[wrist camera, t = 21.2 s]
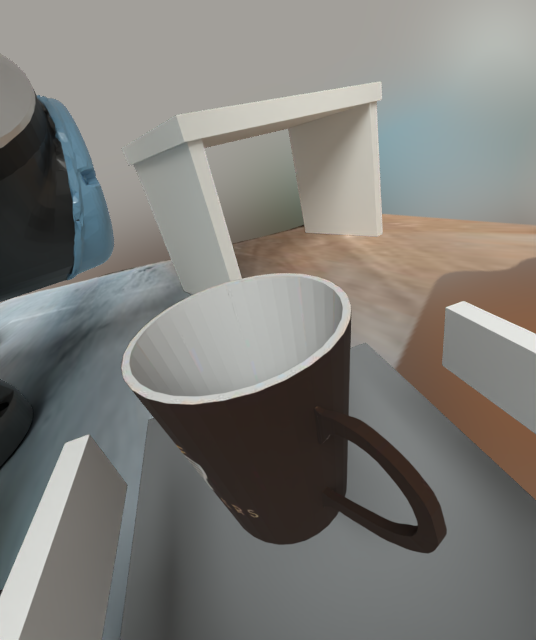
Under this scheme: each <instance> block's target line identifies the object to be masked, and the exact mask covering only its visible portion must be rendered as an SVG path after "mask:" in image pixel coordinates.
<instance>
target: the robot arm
mask: <svg viewBox="0 0 536 640" xmlns="http://www.w3.org/2000/svg"><path fill="white" fill-rule="evenodd" d="M95 176H96V174H95V171H94V168H93V164H92V160H91V157H90V155H89V152H88V150H87V147H86V145H85V142H84V140H83V138H82V136H81V133H80V131H79V129H78V127H77V125H76V123H75V121H74V120H73V118H72V116H71V115H70V113H69V111H68V110H67V108H66V107H65V106H64V105H63V104H62V103H61V102H59V101H58V100H56V99H52V98H46V97H44V96H42V97H40V95H38V96H36V94H35V91H34V89H33V87H32V85H31V83H30V81H29V79H28V78H27V76H26V74H25V73H24V72H23V71H22V70H21V69H20V68H19V67H18V66H17V65H16V64H15V63H14V62H12V61H11V60H10V59H8V58H6V57H5V56H3V55H1V54H0V302H1V301H5V300H8V299H11V298H14V297H17V296H20V295H22V294H26V293H29V292H32V291H35V290H37V289H41V288H43V287H46V286H49V285H52V284H56V283H58V282H61V281H64V280H70V279H72V278H74V277H75V276H76V275H77V274H79V273H82V272H84V271H86V270H89V269H91V268H94V267H96V266H98V265H101V264H103V263H104V262H105V261H107V260H108V259H109V257H110V256H111V254H112V251H113V247H114V237H113V230H112V224H111V219H110V216H109V212H108V208H107V204H106V201H105V198H104V195H103V192H102V189H101V186H100V184H99V182H98V180H97V179H96V177H95ZM442 365H443V366H444V367H446V368H447V369H448V370H450V371H451V372H452V373H454V374H455V375H456V376H458V377H459V378H460V379H462V380H463V381H465V382H466V383H467V384H469V385H470V386H471V387H473V388H474V389H476V390H477V391H478V392H479V393H481V394H482V395H484V396H485V397H486V398H488V399H489V400H490V401H492V402H493V403H494V404H496V405H497V406H498V407H500V408H501V409H502V410H504V411H505V412H507V413H508V414H509V415H511V416H512V417H513V418H515V419H516V420H517V421H519V422H520V423H521V424H523V425H525V426H526V427H527V428H528V429H530V430H531V431H532V432H534V433H535V434H536V334H535V333H532V332H530V331H528V330H526V329H524V328H522V327H519V326H517V325H515V324H513V323H510V322H508V321H506V320H504V319H502V318H499V317H497V316H495V315H493V314H491V313H489V312H486V311H484V310H482V309H480V308H478V307H475V306H473V305H471V304H469V303H466V302H464V301H463V302H460V303H457V304H454V305H451V306H448V307H446V313H445V329H444V345H443V361H442ZM32 418H33V409H32V406H31V405H30V404H29V402H28V401H27V400H26V399H25V398H24V397H23V395H22V394H21V393H20V392H19V391H18V390H17V389H16V388H15V387H14V386H12V385H10V384H9V383H7V382H5V381H3V380H1V379H0V466H1V465H2V464H3V463H4V462H5V461H6V460H7V459H8V457H9V456H10V455H11V454H12V453H13V452H14V450H15V449H16V448H17V446H18V445H19V444H20V442H21V441H22V439H23V438H24V436H25V435H26V433H27V431H28V429H29V427H30V425H31V422H32ZM127 486H128V485H127V484H126V482H125V481H124V480H123V478H122V477H121V476H120V474H119V473H118V472H117V470H116V469H115V468H114V466H113V465H112V464H111V462H110V461H109V460H108V458H107V457H106V456H105V454H104V453H103V452H102V450H101V449H100V448H99V446H98V445H97V444H96V442H95V441H94V440H93V438H92V437H91V436H90V434H89V435H86V436H83V437H80V438H78V439H75V440H72V441H69V442H66V443H65V445H64V447H63V449H62V452H61V454H60V456H59V459H58V461H57V464H56V466H55V468H54V471H53V473H52V475H51V478H50V480H49V482H48V485H47V487H46V489H45V492H44V494H43V497H42V499H41V501H40V504H39V506H38V508H37V511H36V513H35V515H34V518H33V520H32V523H31V525H30V527H29V530H28V532H27V534H26V537H25V539H24V541H23V544H22V546H21V549H20V551H19V553H18V556H17V558H16V560H15V563H14V565H13V567H12V570H11V572H10V575H9V577H8V579H7V582H6V584H5V586H4V589H3V590H0V640H102V635H103V629H104V623H105V617H106V611H107V605H108V599H109V593H110V587H111V581H112V575H113V569H114V563H115V557H116V551H117V545H118V539H119V533H120V527H121V521H122V515H123V509H124V503H125V497H126V492H127Z"/></svg>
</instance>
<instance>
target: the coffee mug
mask: <svg viewBox="0 0 536 640" xmlns="http://www.w3.org/2000/svg"><path fill="white" fill-rule="evenodd" d="M350 343H351V304H350V301H349V298H348V295H347V294H346V293H345V292H344V291H343V290H342V289H341V288H340V287H339V286H337V285H336V284H334V283H332V282H331V281H328V280H326V279H323V278H320V277H317V276H311V275H306V274H294V273H279V274H266V275H257V276H252V277H247V278H242V279H238V280H234V281H230V282H226V283H223V284H220V285H217V286H214V287H211V288H208V289H206V290H203V291H201V292H199V293H196V294H194V295H192V296H190V297H188V298H186V299H184V300H182V301H180V302H178V303H176V304H174V305H173V306H171V307H169V308H168V309H166V310H164V311H163V312H162V313H160V314H159V315H158V316H156V317H155V318H153V319H152V320H151V321H150V322H148V323H147V324H146V325H145V326H144V327H143V328H142V329H141V330H140V331H139V332H138V333H137V334H136V336H135V337H134V338H133V339H132V340H131V342H130V343H129V345H128V347H127V349H126V351H125V353H124V355H123V359H122V364H121V370H122V375H123V379H124V381H125V382H126V383H127V385H128V386H129V387H130V388H131V390H132V391H133V392H134V393H135V395H136V396H137V397H138V398H139V400H140V401H141V402H142V403H143V405H144V406H145V407H146V408H147V410H148V411H149V412H150V413H151V415H152V416H153V417H154V418H155V419H156V421H157V422H158V423H159V424H160V426H161V427H162V428H163V429H164V431H165V432H166V433H167V434H168V436H169V437H170V438H171V439H172V441H173V442H174V443H175V444H176V445H177V447H178V448H179V449H180V450H181V452H182V453H183V454H184V455H185V457H186V458H187V459H188V460H189V462H190V463H191V464H192V465H193V467H194V468H195V469H196V470H197V471H198V473H199V474H200V475H201V476H202V478H203V479H204V480H205V481H206V483H207V484H208V485H209V486H210V488H211V489H212V490H213V491H214V493H215V494H216V495H217V496H218V498H219V499H220V500H221V501H222V502H223V504H224V505H225V506H226V507H227V509H228V510H229V511H230V512H231V514H232V515H233V516H234V517H235V519H236V520H237V521H238V522H239V524H240V525H241V526H242V527H243V528H244V530H246V531H247V532H248V533H249V534H251V535H252V536H253V537H255V538H257V539H259V540H262V541H264V542H267V543H272V544H277V545H286V544H295V543H299V542H302V541H306V540H308V539H310V538H312V537H314V536H316V535H318V534H319V533H320V532H321V531H323V530H324V529H325V528H326V527H327V526H329V525H330V523H331V522H332V521H333V520H334V518H335V517H336V516H337V514H338V512H341V513H342V514H344V515H345V516H347V517H348V518H350V519H351V520H353V521H355V522H356V523H358V524H359V525H361V526H363V527H364V528H366V529H368V530H369V531H371V532H373V533H374V534H376V535H378V536H379V537H381V538H383V539H385V540H387V541H389V542H391V543H393V544H396V545H398V546H401V547H403V548H405V549H408V550H411V551H415V552H420V553H427V554H429V553H431V552H433V551H435V550H436V548H437V547H438V546H439V544H440V543H441V542H442V540H443V539H444V538H445V536H446V534H447V528H446V524H445V520H444V517H443V513H442V509H441V505H440V503H439V501H438V499H437V497H436V495H435V493H434V492H433V491H432V489H431V488H430V486H429V485H428V484H427V482H426V481H425V480H424V479H423V477H422V476H421V475H420V474H419V472H418V471H417V470H416V469H415V468H414V467H413V465H412V464H411V463H410V462H409V461H408V460H407V459H406V458H405V457H404V456H403V455H402V454H401V453H400V452H399V451H398V450H397V449H396V448H395V447H394V446H393V445H392V444H391V443H389V442H388V441H387V440H386V439H385V438H384V437H382V436H381V435H380V434H379V433H378V432H377V431H375V430H374V429H373V428H372V427H370V426H369V425H367V424H366V423H365V422H363V421H361V420H359V419H357V418H355V417H351V416H349V382H350ZM348 440H349V441H351V442H352V443H354V444H356V445H357V446H358V447H360V448H361V449H363V450H364V451H365V452H367V453H368V454H369V455H370V456H371V457H372V458H373V459H374V460H376V461H377V462H378V463H379V465H380V466H381V467H382V468H383V469H384V470H385V471H386V473H387V474H388V475H389V476H390V477H391V478H392V480H393V481H394V482H395V483H396V485H397V486H398V487H399V488H400V490H401V491H402V493H403V494H404V496H405V497H406V499H407V500H408V502H409V504H410V506H411V508H412V510H413V512H414V514H415V517H416V519H417V524H418V525H417V526H413V525H409V524H400V523H396V522H392V521H390V520H388V519H385V518H383V517H381V516H380V515H378V514H376V513H374V512H372V511H370V510H368V509H366V508H364V507H362V506H360V505H358V504H357V503H355V502H353V501H351V500H349V499H348V498H346V497H345V494H346V490H347V461H348Z"/></svg>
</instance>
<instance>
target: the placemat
mask: <svg viewBox="0 0 536 640" xmlns="http://www.w3.org/2000/svg"><path fill="white" fill-rule="evenodd" d="M349 416H351V417H355V418H357V419H359V420H361V421H363V422H365V423H366V424H367V425H369V426H370V427H372V428H373V429H374V430H375V431H377V432H378V433H379V434H380V435H381V436H382V437H384V438H385V439H386V440H387V441H388V442H389V443H391V444H392V445H393V446H394V447H395V448H396V449H397V450H398V451H399V452H400V453H401V454H402V455H403V456H404V457H405V458H406V459H407V460H408V461H409V462H410V463H411V464H412V465H413V467H414V468H415V469H416V470H417V471H418V472H419V474H420V475H421V476H422V477H423V479H424V480H425V481H426V482H427V484H428V485H429V486H430V488H431V489H432V491H433V492H434V493H435V495H436V497H437V499H438V501H439V503H440V505H441V509H442V513H443V517H444V520H445V524H446V528H447V534H446V536H445V538H444V539H443V540H442V542H441V543H440V544H439V546H438V547H437V548H436V550H435V551H433V552H431V553H429V554H427V553H420V552H415V551H411V550H408V549H405V548H403V547H401V546H398V545H396V544H393V543H391V542H389V541H387V540H385V539H383V538H381V537H379V536H378V535H376V534H374V533H373V532H371V531H369V530H368V529H366V528H364V527H363V526H361V525H359V524H358V523H356V522H355V521H353V520H351V519H350V518H348V517H347V516H345V515H344V514H342V513H341V512H338V514H337V516H336V517H335V518H334V520H333V521H332V522H331V523H330V525H329V526H327V527H326V528H325V529H324V530H323V531H321V532H320V533H319V534H318V535H316V536H314V537H312V538H310V539H308V540H306V541H302V542H299V543H295V544H286V545H277V544H272V543H267V542H264V541H262V540H259V539H257V538H255V537H253V536H252V535H251V534H249V533H248V532H247V531H246V530H244V528H243V527H242V526H241V525H240V524H239V522H238V521H237V520H236V519H235V517H234V516H233V515H232V514H231V512H230V511H229V510H228V509H227V507H226V506H225V505H224V504H223V502H222V501H221V500H220V499H219V498H218V496H217V495H216V494H215V493H214V491H213V490H212V489H211V488H210V486H209V485H208V484H207V483H206V481H205V480H204V479H203V478H202V476H201V475H200V474H199V473H198V471H197V470H196V469H195V468H194V467H193V465H192V464H191V463H190V462H189V460H188V459H187V458H186V457H185V455H184V454H183V453H182V452H181V450H180V449H179V448H178V447H177V445H176V444H175V443H174V442H173V441H172V439H171V438H170V437H169V436H168V434H167V433H166V432H165V431H164V429H163V428H162V427H161V426H160V424H159V423H158V422H157V421H156V419H155V418H153V419H150V420H148V427H147V435H146V442H145V450H144V458H143V465H142V473H141V481H140V488H139V496H138V504H137V512H136V519H135V527H134V535H133V542H132V550H131V558H130V565H129V573H128V581H127V588H126V596H125V604H124V611H123V619H122V627H121V634H120V640H536V500H535V499H534V498H533V497H532V496H531V495H530V494H528V493H527V492H526V491H525V490H524V489H523V488H522V487H521V486H520V485H519V484H518V483H517V482H516V481H514V480H513V479H512V478H511V477H510V476H509V475H508V474H507V473H506V472H505V471H504V470H503V469H501V468H500V467H499V466H498V465H497V464H496V463H495V462H494V461H493V460H492V459H491V458H490V457H489V456H488V455H486V454H485V453H484V452H483V451H482V450H481V449H480V448H479V447H478V446H477V445H476V444H475V443H473V442H472V441H471V440H470V439H469V438H468V437H467V436H466V435H465V434H464V433H463V432H462V431H461V430H459V429H458V428H457V427H456V426H455V425H454V424H453V423H452V422H451V421H450V420H449V419H447V417H445V416H444V415H443V414H442V413H441V412H440V411H439V410H438V409H437V408H436V407H435V406H434V405H432V404H431V403H430V402H429V401H428V400H427V399H426V398H425V397H424V396H423V395H422V394H421V393H420V392H418V391H417V390H416V389H415V388H414V387H413V386H412V385H411V384H410V383H409V382H408V381H407V380H405V379H404V378H403V377H402V376H401V375H400V374H399V373H398V372H397V371H396V370H395V369H394V368H393V367H391V366H390V365H389V364H388V363H387V362H386V361H385V360H384V359H383V358H382V357H381V356H380V355H379V354H377V353H376V352H375V351H374V350H373V349H372V348H371V347H370V346H369V345H368V344H367V343H363V344H360V345H358V346H355V347H352V348H350V382H349ZM345 497H346V498H348V499H349V500H351V501H353V502H355V503H357V504H358V505H360V506H362V507H364V508H366V509H368V510H370V511H372V512H374V513H376V514H378V515H380V516H381V517H383V518H385V519H388V520H390V521H392V522H396V523H400V524H409V525H413V526H417V525H418V524H417V519H416V517H415V514H414V512H413V510H412V508H411V506H410V504H409V502H408V500H407V499H406V497H405V496H404V494H403V493H402V491H401V490H400V488H399V487H398V486H397V485H396V483H395V482H394V481H393V480H392V478H391V477H390V476H389V475H388V474H387V473H386V471H385V470H384V469H383V468H382V467H381V466H380V465H379V463H378V462H377V461H376V460H374V459H373V458H372V457H371V456H370V455H369V454H368V453H367V452H365V451H364V450H363V449H361V448H360V447H358V446H357V445H356V444H354V443H352V442H351V441H349V440H348V461H347V490H346V494H345Z"/></svg>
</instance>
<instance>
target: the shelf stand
mask: <svg viewBox="0 0 536 640" xmlns="http://www.w3.org/2000/svg"><path fill="white" fill-rule="evenodd" d="M379 100H382V87H381V81H380V82H374V83H368V84H362V85H356V86H350V87H344V88H337V89H331V90H325V91H319V92H313V93H307V94H301V95H295V96H289V97H283V98H277V99H270V100H265V101H258V102H252V103H247V104H240V105H234V106H228V107H222V108H216V109H210V110H203V111H197V112H191V113H185V114H179V115H175V116H174V117H172V118H170V119H169V120H167V121H166V122H164V123H162V124H160V125H159V126H157V127H156V128H154V129H152V130H151V131H149V132H147V133H146V134H144V135H142V136H141V137H139V138H138V139H136V140H134V141H133V142H131V143H129V144H128V145H126V146H124V147H123V148H122V151H123V153H124V156H125V158H126V161H127V163H128V165H129V166H130V165H134V167H135V169H136V172H137V175H138V177H139V179H140V182H141V185H142V187H143V189H144V192H145V195H146V197H147V200H148V202H149V205H150V207H151V209H152V212H153V215H154V217H155V220H156V222H157V225H158V227H159V230H160V232H161V235H162V237H163V240H164V242H165V245H166V248H167V250H168V253H169V255H170V258H171V260H172V263H173V265H174V268H175V270H176V273H177V275H178V278H179V280H180V283H181V285H182V288H183V290H184V291H186V292H188V293H190V294H193V295H194V294H196V293H199V292H201V291H203V290H206V289H208V288H211V287H214V286H217V285H220V284H223V283H226V282H230V281H234V280H238V279H242V277H241V274H240V270H239V267H238V263H237V260H236V257H235V253H234V250H233V246H232V243H231V239H230V236H229V232H228V229H227V226H226V222H225V219H224V216H223V212H222V208H221V205H220V202H219V198H218V194H217V191H216V188H215V184H214V181H213V177H212V174H211V170H210V167H209V163H208V160H207V157H206V153H205V150H204V148H207V147H211V146H215V145H220V144H224V143H228V142H233V141H237V140H241V139H246V138H250V137H254V136H258V135H263V134H267V133H271V132H276V131H280V130H284V129H288V131H289V137H290V142H291V149H292V154H293V161H294V166H295V173H296V178H297V184H298V190H299V196H300V202H301V208H302V214H303V220H304V226H305V232H306V233H321V234H338V235H356V236H374V237H377V236H379V235H381V234H383V232H382V210H381V189H380V167H379V146H378V123H377V102H376V101H379Z"/></svg>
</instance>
